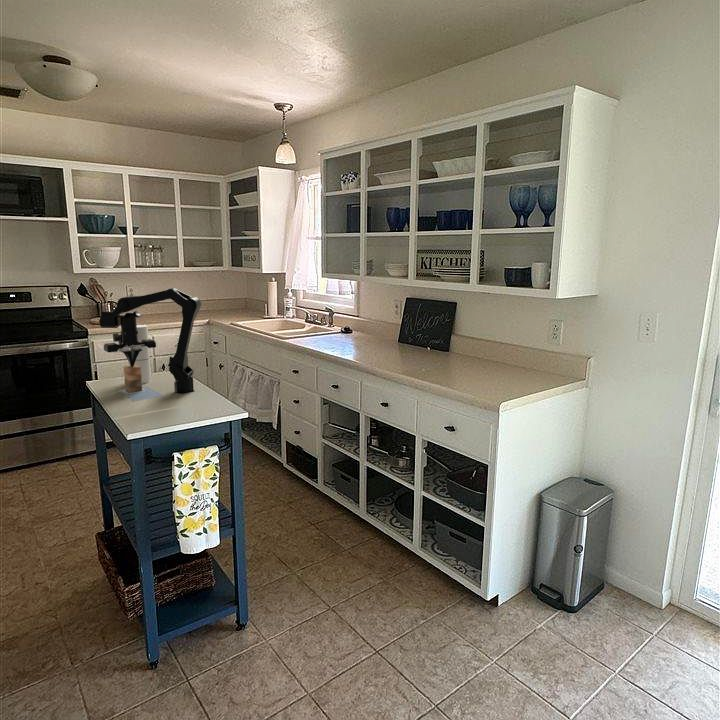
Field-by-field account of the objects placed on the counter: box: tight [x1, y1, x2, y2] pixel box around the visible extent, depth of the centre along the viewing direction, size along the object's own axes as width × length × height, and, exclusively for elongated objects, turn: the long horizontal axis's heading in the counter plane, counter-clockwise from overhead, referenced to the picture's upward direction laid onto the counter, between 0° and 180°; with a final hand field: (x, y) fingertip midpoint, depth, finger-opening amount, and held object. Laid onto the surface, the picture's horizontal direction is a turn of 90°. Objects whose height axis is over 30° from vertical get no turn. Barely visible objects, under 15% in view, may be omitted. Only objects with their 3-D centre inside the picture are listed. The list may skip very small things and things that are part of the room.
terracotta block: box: [123, 365, 142, 381], centre depth 213 cm, size 5×5×5 cm
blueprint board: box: [118, 385, 166, 402], centre depth 211 cm, size 12×19×1 cm, turn 41°
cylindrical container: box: [134, 324, 152, 385], centre depth 227 cm, size 7×7×25 cm
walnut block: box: [124, 378, 143, 393], centre depth 214 cm, size 5×5×5 cm
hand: (132, 366), depth 212 cm, fingers closed
